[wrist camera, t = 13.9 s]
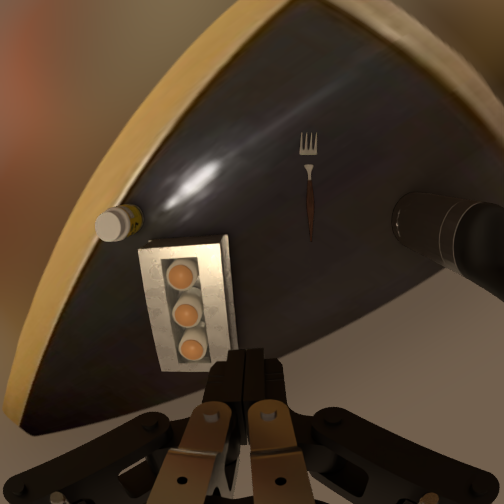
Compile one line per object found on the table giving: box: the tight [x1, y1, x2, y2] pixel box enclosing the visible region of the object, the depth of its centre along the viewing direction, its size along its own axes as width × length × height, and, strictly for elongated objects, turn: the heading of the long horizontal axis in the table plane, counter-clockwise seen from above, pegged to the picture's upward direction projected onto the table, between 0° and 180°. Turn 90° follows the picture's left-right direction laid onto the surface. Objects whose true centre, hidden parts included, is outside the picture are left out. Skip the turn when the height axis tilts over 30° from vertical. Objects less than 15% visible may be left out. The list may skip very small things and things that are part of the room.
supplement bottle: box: [95, 204, 144, 242], centre depth 41 cm, size 5×5×8 cm
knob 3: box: [179, 321, 208, 361], centre depth 45 cm, size 4×4×6 cm
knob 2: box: [172, 287, 204, 328], centre depth 44 cm, size 4×4×6 cm
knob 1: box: [166, 257, 199, 291], centre depth 43 cm, size 4×4×6 cm
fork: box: [300, 133, 317, 242], centre depth 44 cm, size 3×16×2 cm, turn 2°
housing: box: [138, 234, 238, 372], centre depth 45 cm, size 12×19×7 cm, turn 4°
